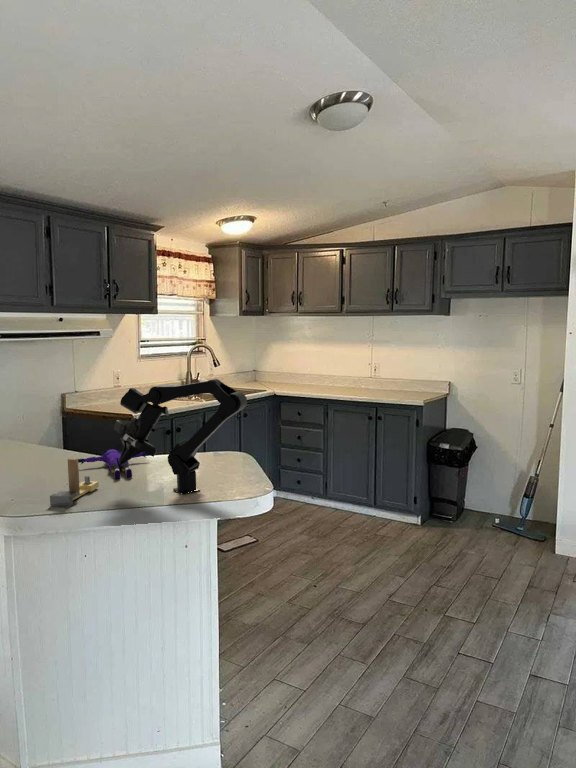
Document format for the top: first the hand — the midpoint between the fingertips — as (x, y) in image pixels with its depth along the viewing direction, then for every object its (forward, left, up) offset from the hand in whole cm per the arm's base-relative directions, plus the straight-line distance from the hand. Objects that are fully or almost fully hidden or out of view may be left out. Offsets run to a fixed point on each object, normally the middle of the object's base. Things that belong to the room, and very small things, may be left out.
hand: (120, 463), depth 176 cm
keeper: (+1, +17, -9) cm, 20 cm away
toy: (+29, -12, -10) cm, 33 cm away
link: (+6, +11, -9) cm, 16 cm away
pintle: (+10, +7, -9) cm, 15 cm away
